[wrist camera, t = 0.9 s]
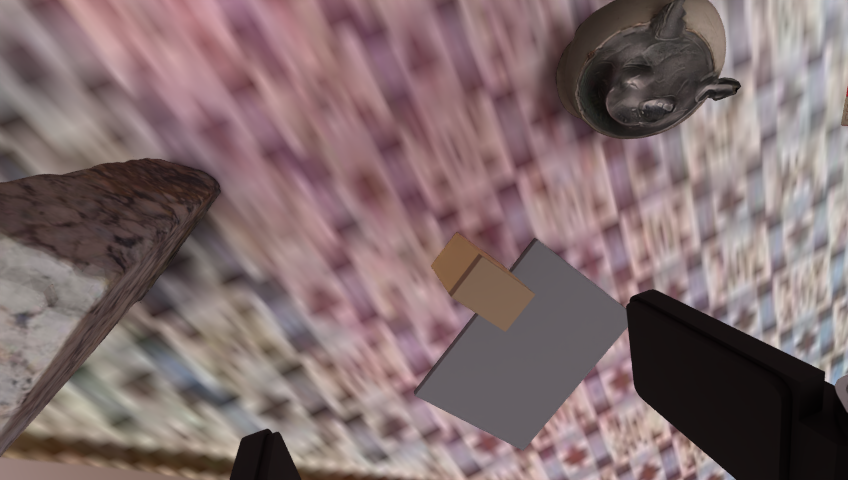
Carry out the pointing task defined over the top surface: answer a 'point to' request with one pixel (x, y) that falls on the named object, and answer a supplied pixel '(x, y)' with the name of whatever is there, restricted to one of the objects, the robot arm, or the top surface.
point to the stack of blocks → (845, 112)
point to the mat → (527, 352)
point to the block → (481, 282)
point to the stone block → (81, 267)
